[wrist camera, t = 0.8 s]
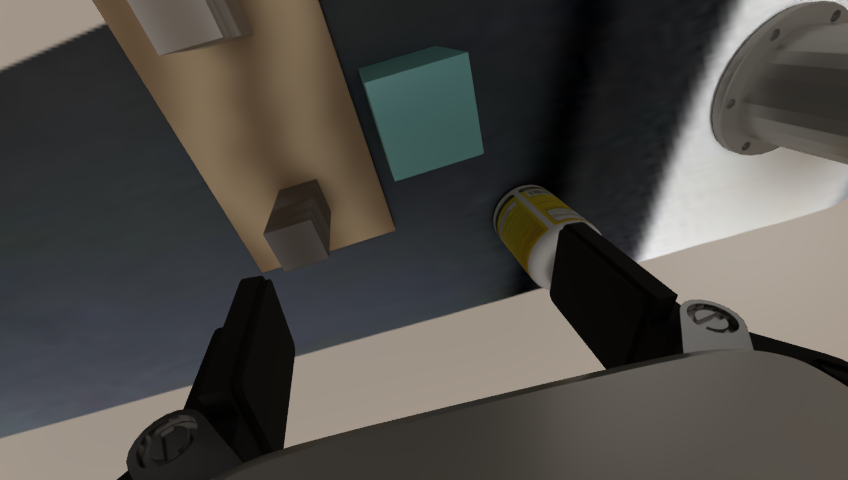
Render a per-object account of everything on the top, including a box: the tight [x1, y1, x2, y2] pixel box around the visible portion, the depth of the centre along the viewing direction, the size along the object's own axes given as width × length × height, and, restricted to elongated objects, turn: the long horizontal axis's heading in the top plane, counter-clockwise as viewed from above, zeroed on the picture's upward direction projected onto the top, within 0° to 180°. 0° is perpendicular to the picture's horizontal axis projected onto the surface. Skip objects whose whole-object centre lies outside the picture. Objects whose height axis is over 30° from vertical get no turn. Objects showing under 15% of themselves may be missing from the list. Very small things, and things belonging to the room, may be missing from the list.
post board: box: [92, 0, 395, 273], centre depth 23 cm, size 12×23×8 cm, turn 14°
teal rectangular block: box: [358, 46, 484, 181], centre depth 24 cm, size 6×6×8 cm
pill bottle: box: [493, 185, 602, 290], centre depth 30 cm, size 6×6×11 cm
